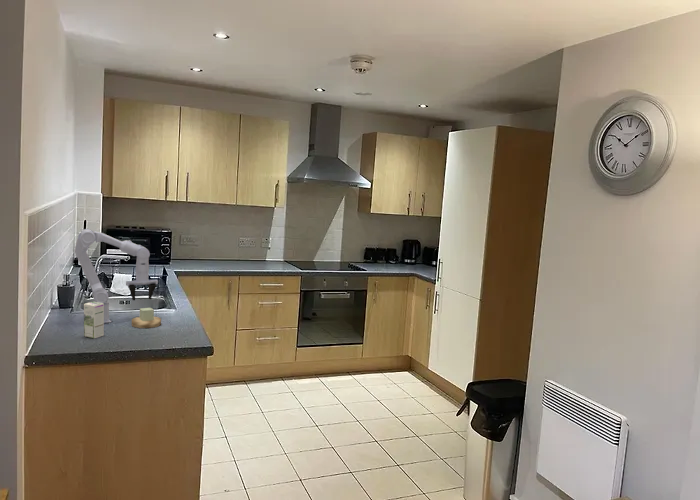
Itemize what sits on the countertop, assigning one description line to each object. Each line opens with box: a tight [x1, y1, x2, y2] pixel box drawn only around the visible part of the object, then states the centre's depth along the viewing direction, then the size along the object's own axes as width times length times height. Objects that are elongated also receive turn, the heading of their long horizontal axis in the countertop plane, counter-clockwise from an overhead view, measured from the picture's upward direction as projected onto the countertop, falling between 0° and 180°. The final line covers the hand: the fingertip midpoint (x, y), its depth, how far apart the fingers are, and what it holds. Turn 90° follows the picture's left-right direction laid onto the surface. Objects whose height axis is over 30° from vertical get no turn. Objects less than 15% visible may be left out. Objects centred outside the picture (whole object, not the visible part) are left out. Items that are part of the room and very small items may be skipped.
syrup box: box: [83, 301, 105, 339], centre depth 229 cm, size 6×6×14 cm
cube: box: [139, 307, 155, 321], centre depth 252 cm, size 5×5×5 cm
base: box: [131, 316, 162, 329], centre depth 253 cm, size 13×13×2 cm
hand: (141, 299), depth 261 cm, fingers open, 7 cm apart
